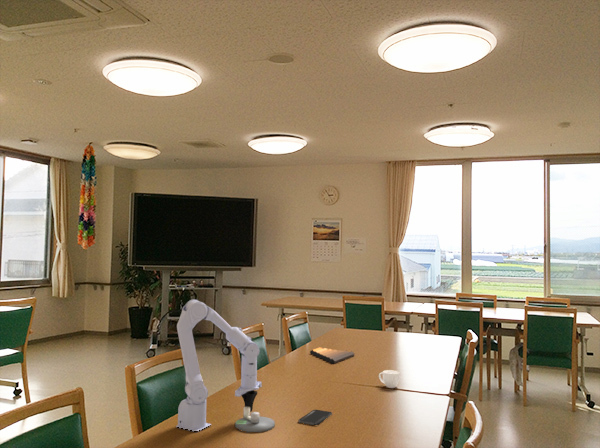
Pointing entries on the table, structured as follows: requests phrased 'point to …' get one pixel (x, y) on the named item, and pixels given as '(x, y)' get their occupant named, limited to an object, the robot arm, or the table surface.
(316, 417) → the phone
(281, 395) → the table surface
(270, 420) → the dial plate
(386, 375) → the cup
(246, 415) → the tuning lever
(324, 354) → the pan flute
